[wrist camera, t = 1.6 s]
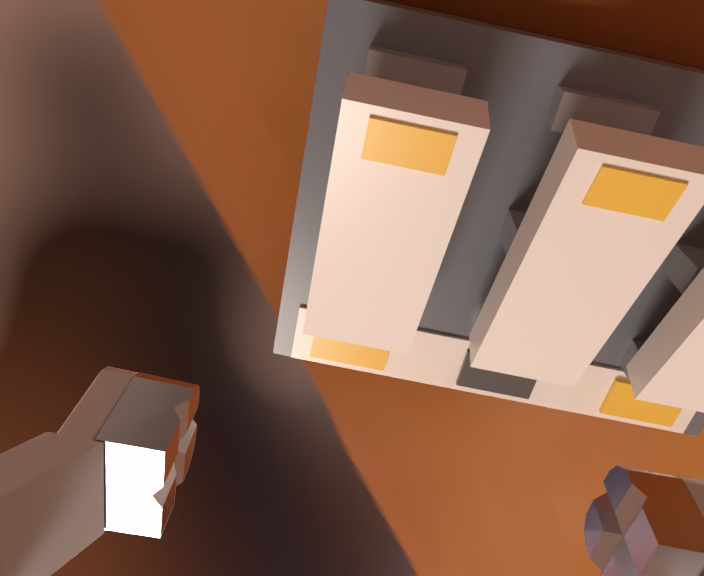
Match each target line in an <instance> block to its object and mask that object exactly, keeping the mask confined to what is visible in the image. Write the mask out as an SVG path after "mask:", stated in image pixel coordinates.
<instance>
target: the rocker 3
mask: <svg viewBox="0 0 704 576" xmlns="http://www.w3.org/2000/svg"><path fill="white" fill-rule="evenodd" d="M626 367H627V371H628V375H629V379H630V382H631V386H632V390H633V394H634V398H635V399H637V400H642V401H647V402H652V403H657V404H662V405H667V406H672V407H677V408H682V409H687V410H693V411H698V412H703V413H704V268H703V269H702V270H701V271H700V273H699V274H698V275H697V277H696V278H695V279H694V280H693V282H692V283H691V284H690V285H689V287H688V288H687V289H686V291H685V292H684V293H683V294H682V296H681V297H680V298H679V299H678V301H677V302H676V303H675V305H674V306H673V307H672V308H671V310H670V311H669V312H668V313H667V315H666V316H665V317H664V319H663V320H662V321H661V322H660V324H659V325H658V326H657V328H656V329H655V330H654V331H653V333H652V334H651V335H650V336H649V338H648V339H647V340H646V342H645V343H644V344H643V345H642V347H641V348H640V349H639V350H638V352H637V353H636V354H635V356H634V357H633V358H632V359H631V361H630V362H629V363H628V365H627V366H626Z"/></svg>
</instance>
